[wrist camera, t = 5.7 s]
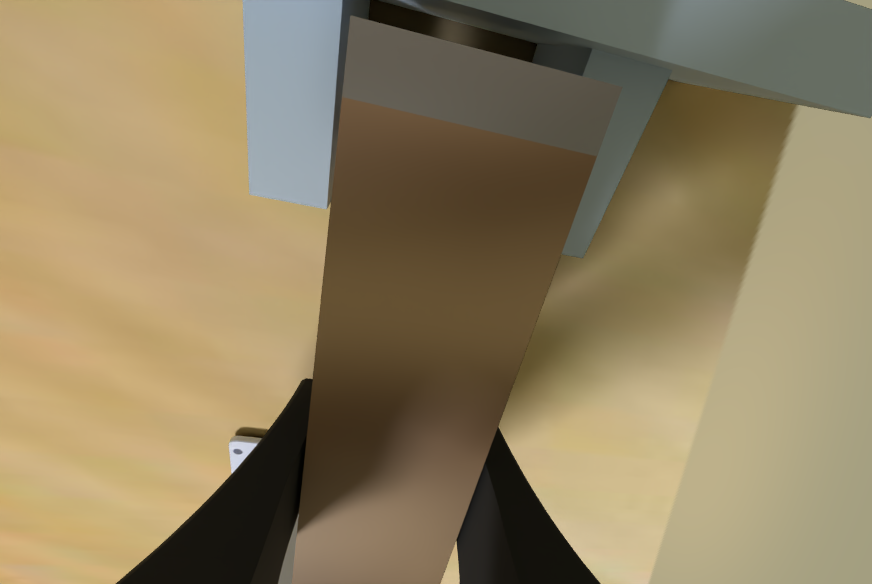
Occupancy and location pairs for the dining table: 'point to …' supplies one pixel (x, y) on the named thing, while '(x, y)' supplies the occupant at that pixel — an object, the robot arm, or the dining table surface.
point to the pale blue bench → (559, 49)
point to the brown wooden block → (431, 288)
